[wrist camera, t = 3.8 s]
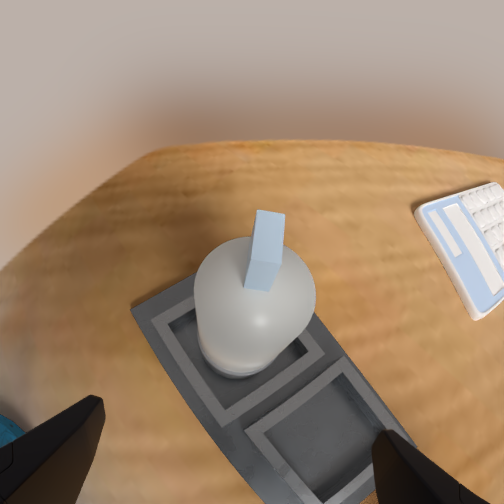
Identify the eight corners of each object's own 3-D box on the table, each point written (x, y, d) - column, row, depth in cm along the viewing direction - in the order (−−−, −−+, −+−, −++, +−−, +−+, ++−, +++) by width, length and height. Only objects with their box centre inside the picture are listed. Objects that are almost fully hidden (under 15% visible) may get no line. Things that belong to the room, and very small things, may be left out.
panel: (302, 541, 15) (311, 552, 13) (131, 312, 22) (124, 302, 20) (413, 446, 19) (429, 447, 17) (255, 242, 26) (259, 227, 24)
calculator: (537, 264, 31) (546, 257, 29) (469, 327, 25) (482, 320, 23) (490, 186, 36) (497, 178, 34) (406, 213, 30) (415, 203, 29)
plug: (269, 385, 20) (338, 346, 9) (193, 374, 20) (173, 324, 9) (276, 315, 23) (337, 212, 12) (205, 304, 22) (204, 189, 12)
